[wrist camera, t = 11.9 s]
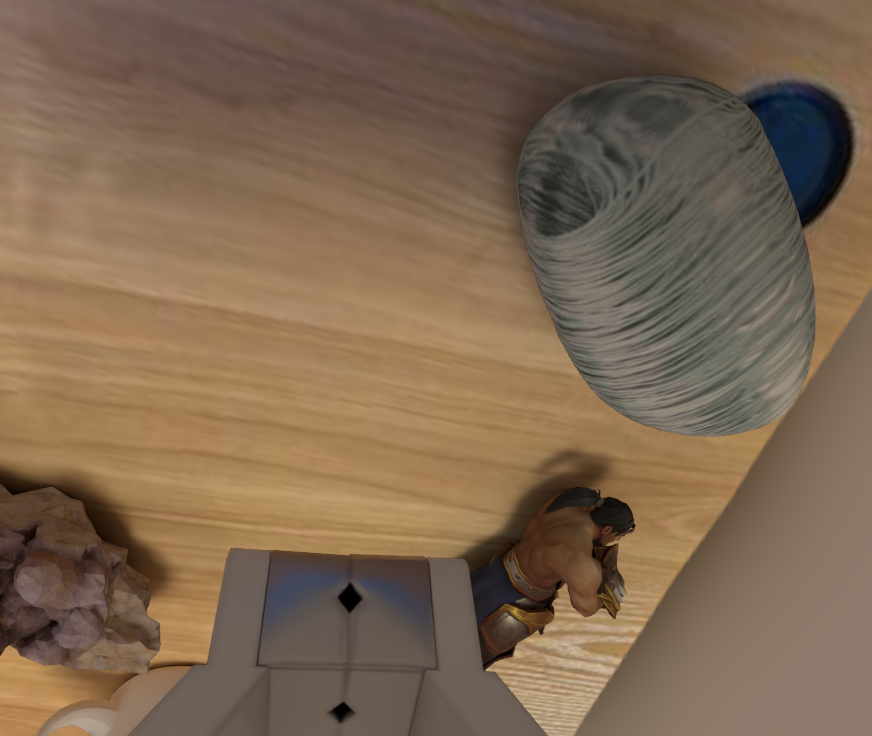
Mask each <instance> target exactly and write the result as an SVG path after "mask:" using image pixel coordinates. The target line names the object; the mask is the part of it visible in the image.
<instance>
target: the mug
mask: <svg viewBox="0 0 872 736" xmlns="http://www.w3.org/2000/svg"><path fill="white" fill-rule="evenodd" d="M191 667H192V666H170V667H162V668H157V669H153V670H149V671H148V675H147V674H139V675H137V676H135V677H133V678H131V679H129V680H128V681H126V682H125V683H124V684H123V685H121V686H120V687H119V688H118V689H117V690H116V691H115V693H114V694H113V695H112V697H111V699H110V701H108V700H95V699H91V700H83V701H79V702H76V703H73V704H70V705H68V706H66V707H64V708H62V709H60V710H59V711H57V712H56V713H55V714H54V715H52V716H51V717H50V718H49V719H48V720H47V721H46V722H45V723H44V724H43V725H42V727H41V728H40V729H39V731H38V732H37V734H36V735H35V736H48V735H49V734H50V733H52V732H53V731H55V730H57V729H59V728H62V727H65V726H76V727H79V728H82V729H84V730H86V731H87V732H89V733H90V734H91V735H92V736H128V734H129V733H130V732H131V731H132V730H133V729H134V728H135V727H136V726H137V725H138V724H139V723H140V722H141V721H142V720H143V718H144V717H145V716H146V715H147V714H148V713H149V712H150V711H151V710H152V709H153V708H154V707H155V706H156V705H157V704H158V703H159V701H160V700H161V699H162V698H163V697H164V696H165V695H166V694H167V693H168V692H169V691H170V690H171V689H172V688H173V687H174V685H175V684H176V683H177V682H178V681H179V680H180V679H181V678H182V677H183V676H184V675H185V674H186V673H187V672H188V671H189V670H190V668H191Z"/></svg>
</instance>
